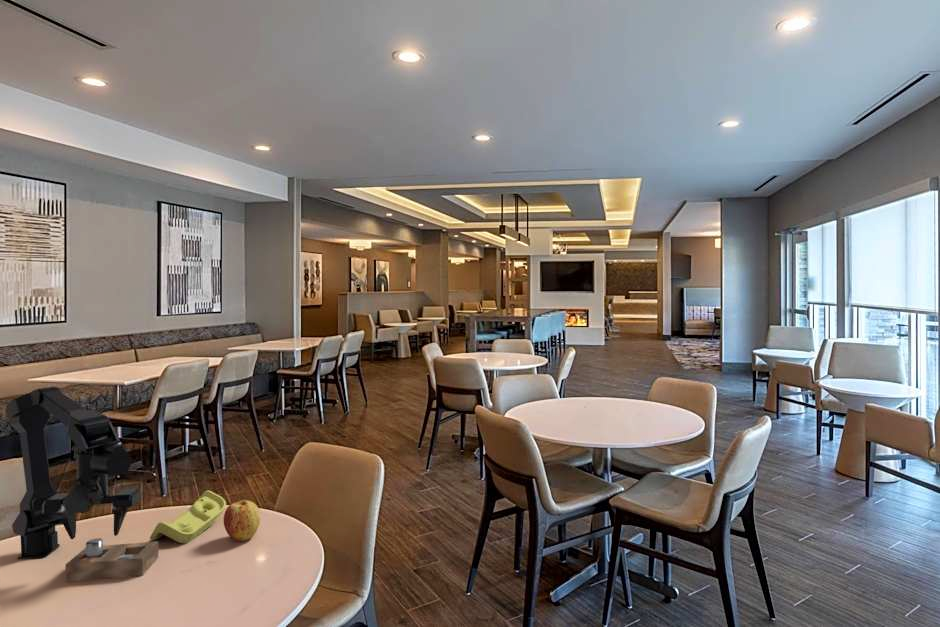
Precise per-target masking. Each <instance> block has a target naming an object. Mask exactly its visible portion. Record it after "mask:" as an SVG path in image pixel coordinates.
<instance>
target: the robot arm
mask: <svg viewBox="0 0 940 627" xmlns="http://www.w3.org/2000/svg"><path fill="white" fill-rule="evenodd" d="M5 414H6V416H7V417H8V421H9V425H10V426H11V427H13V428H14V429H15V430H16V431H17V432H18V433H19V434H18V435H19V440H20V449H21V456H22V457H21V458H22V465H23V473H24V481H25V488H26V489H25V490H26V491H25V493H24V495H23V498H22V499H21V501H20V503H19V513H18V515H17V516H16V518H15V519H14V522H12V525H11V528H12V531H13V534H15V535H17V536H20V552H21V553H20V554H19V555H18V556H17V557H16V558H17V560H25V559H26V560H27V559H36V558H37V559H39V558H45V557H47V556H49V555H50V554H51V553H53V552H54V551H56V550H57V549H58V548H60V545H61V544H60V543H59V540H58V539H59V538H58V530H56V526H57V525H61V524H62V525H63V527H64V529H65V531H66V532H67V535H68V536H69V538H70V540H74V539H75V538H76V534H77V514H86V513H88V512H90V510H91V509H92V507H93V506H98V505H101V504H102V505H104V504H105V505H106V504H112V506H113V507H114V508H113V509H111V512H112V514H113V536H115V537H117V536H118V535H119V533H120V530H121V528H122V525H123V523H124V520H125V517H126V516H127V513H128V512H129V509H130V508H132V507H134V506H135V505H136V504H137V503H138V502H140V501H141V500H142V491H141V490H140V489H139V488H138V487H134V488H122V489H121V490H120V491H118V492H117V493H114V494H109V493H110V492H111V487H109V486H108V476H113V477H118V476H119V477H120V476H122V475H124V474H126V473H127V472H128V471H129V470H130V468H131V466H132V463H133V458H132V456H131V454H130V453H129V451H127V450H125V449H123V444H121V440H120V438H119V437H120V435H119V433H118V432H117V431H116V429H115V428H114V426H113V425H114V424H112V422H111V420H110V419H109V417H108V416H107V415H106V414H104V413H101V412H99V411H96V410H95V411H94V410H88V409H85V408H83V407H81V405H79V404H77V403H76V402H75V401H74V400H72V399H71V398H69V397H68V396H67V395H66V394H65V393H63V392H62V391H61V389H60V387H58V386H47V387H40V388H39V387H38V388H35V389H33V390H32V391H30V392H29V393H25V394H23V395H20V396H18V397H13V398H11V399H10V401H9V402H8V403H7V404H6V405H5ZM51 416H53V417H54V418H55V419H56V420H58V421H59V422H61V424H63V425H65V427H66V436H68V437H69V439H70V440H71V441H72V442H73V443H74V445H73V446H72V447H71V451H73V452H76V473H77V475H76V476H77V477H76V478H74V481H73V486H72V489H71V490H70V491H69V492H65V493H64V492H61V491H57V490H56V489H54V487H53V486H52V482H51V474H50V467H49V460H48V459H49V458H48V450H47V442H46V435H45V434H46V432H45V428H46V426H47V425H48V422H49V421H50V419H51Z"/></svg>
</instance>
